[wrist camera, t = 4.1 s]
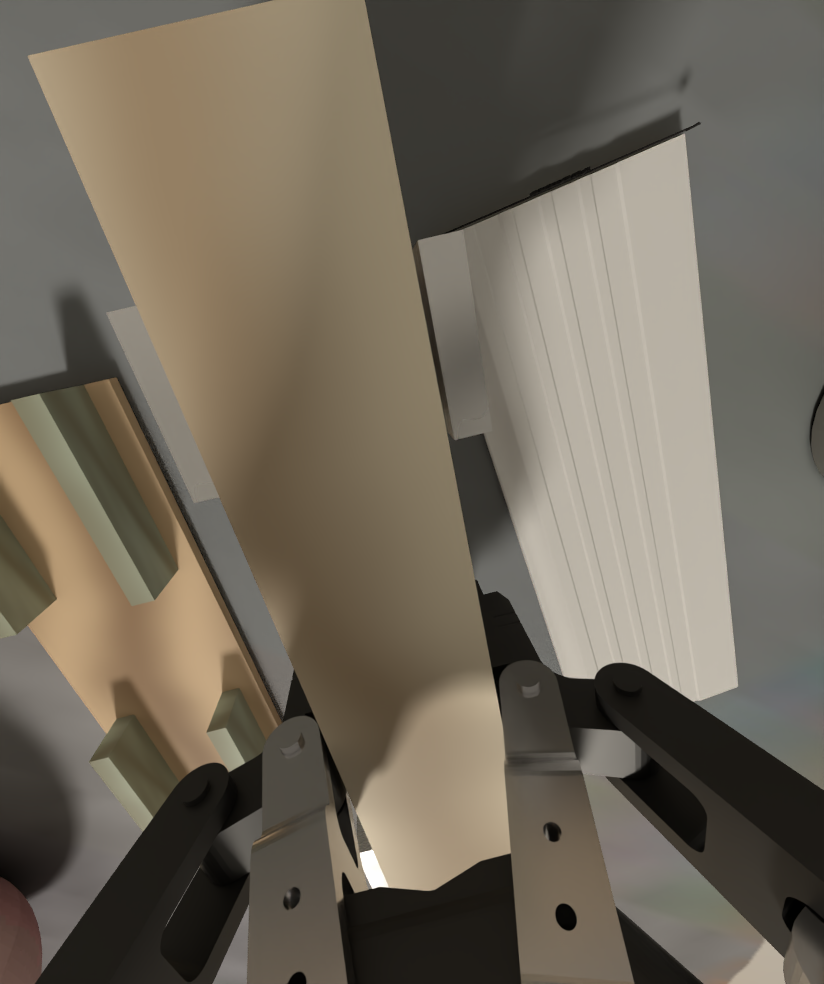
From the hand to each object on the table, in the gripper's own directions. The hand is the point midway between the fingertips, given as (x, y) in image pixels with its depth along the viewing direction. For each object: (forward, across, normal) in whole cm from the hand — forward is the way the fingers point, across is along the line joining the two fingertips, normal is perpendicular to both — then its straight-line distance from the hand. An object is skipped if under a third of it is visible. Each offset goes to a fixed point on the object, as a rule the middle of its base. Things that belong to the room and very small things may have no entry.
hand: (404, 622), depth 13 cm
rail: (0, 0, 0) cm, 0 cm away
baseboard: (+9, -11, +3) cm, 15 cm away
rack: (+8, +14, +4) cm, 17 cm away
